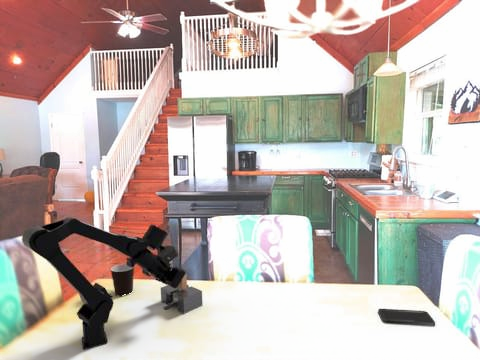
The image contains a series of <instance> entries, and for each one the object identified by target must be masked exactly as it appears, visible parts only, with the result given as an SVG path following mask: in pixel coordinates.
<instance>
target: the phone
mask: <svg viewBox="0 0 480 360" xmlns="http://www.w3.org/2000/svg"><path fill="white" fill-rule="evenodd" d="M377 312H378V315H379V317H380V319H381V322H383V323H386V324H402V325H416V326H417V325H418V326H435V325H436V321H435V320H434V319H433V317H432V316H431V315H430V314H429V312H428V311H426V310H412V309H408V310H407V309H398V308H397V309H392V308H378V310H377Z"/></svg>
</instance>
